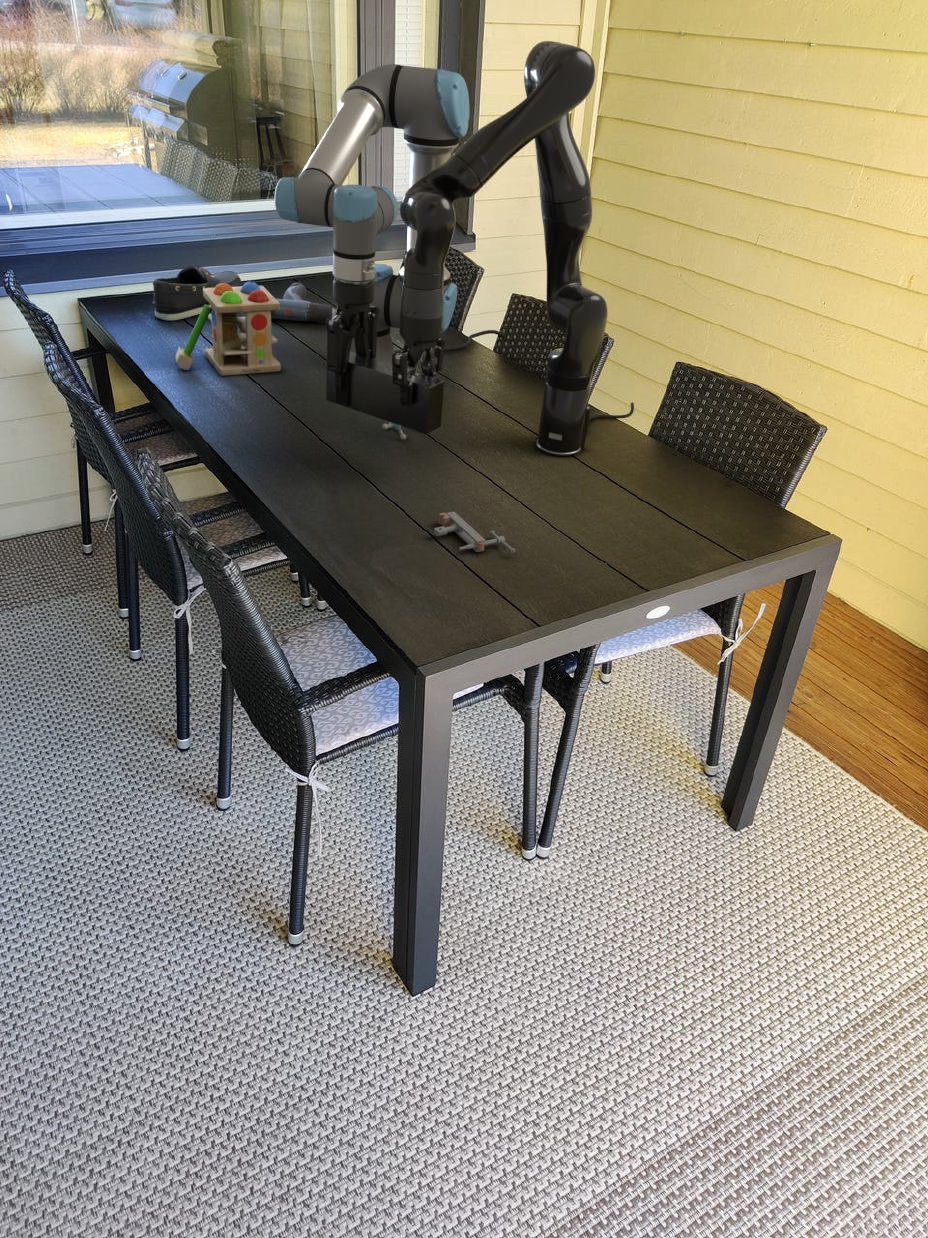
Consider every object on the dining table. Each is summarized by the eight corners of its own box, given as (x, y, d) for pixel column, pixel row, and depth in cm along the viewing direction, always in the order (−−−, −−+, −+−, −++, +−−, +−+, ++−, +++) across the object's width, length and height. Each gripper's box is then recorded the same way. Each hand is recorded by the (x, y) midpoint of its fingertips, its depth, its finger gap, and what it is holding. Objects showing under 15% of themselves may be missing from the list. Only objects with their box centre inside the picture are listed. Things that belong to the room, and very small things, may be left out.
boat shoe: (260, 299, 274) (258, 261, 269) (172, 322, 251) (168, 281, 245) (227, 291, 280) (224, 253, 275) (137, 313, 256) (132, 272, 251)
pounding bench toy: (183, 379, 220) (176, 299, 210) (169, 357, 231) (162, 280, 221) (282, 371, 230) (280, 294, 220) (264, 350, 240) (262, 276, 230)
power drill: (344, 304, 276) (335, 327, 259) (277, 298, 275) (264, 321, 258) (344, 285, 273) (335, 306, 256) (277, 279, 272) (264, 300, 255)
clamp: (424, 515, 172) (473, 506, 177) (423, 526, 174) (472, 516, 178) (467, 556, 162) (517, 545, 167) (465, 568, 163) (516, 556, 168)
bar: (326, 400, 191) (326, 354, 186) (341, 393, 195) (342, 348, 190) (426, 434, 182) (429, 387, 177) (441, 426, 185) (444, 380, 180)
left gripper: (339, 293, 170) (337, 418, 183) (399, 273, 183) (393, 392, 196) (305, 283, 173) (306, 408, 186) (366, 265, 186) (363, 382, 199)
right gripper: (416, 324, 166) (410, 417, 176) (461, 306, 177) (454, 395, 186) (380, 314, 169) (377, 405, 179) (426, 297, 180) (421, 384, 189)
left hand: (351, 399), depth 191 cm, fingers closed on bar, 5 cm apart
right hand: (416, 400), depth 182 cm, fingers open, 6 cm apart
